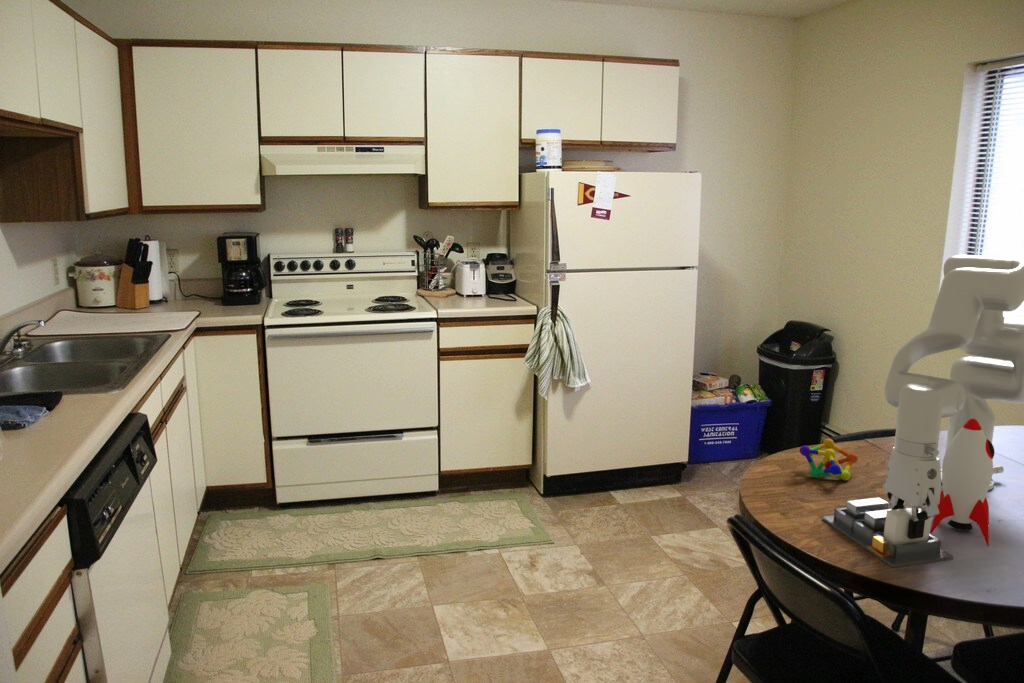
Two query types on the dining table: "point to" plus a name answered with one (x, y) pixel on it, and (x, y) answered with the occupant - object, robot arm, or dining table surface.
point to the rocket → (966, 480)
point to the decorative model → (829, 460)
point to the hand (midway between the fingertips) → (906, 531)
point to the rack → (882, 534)
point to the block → (902, 526)
